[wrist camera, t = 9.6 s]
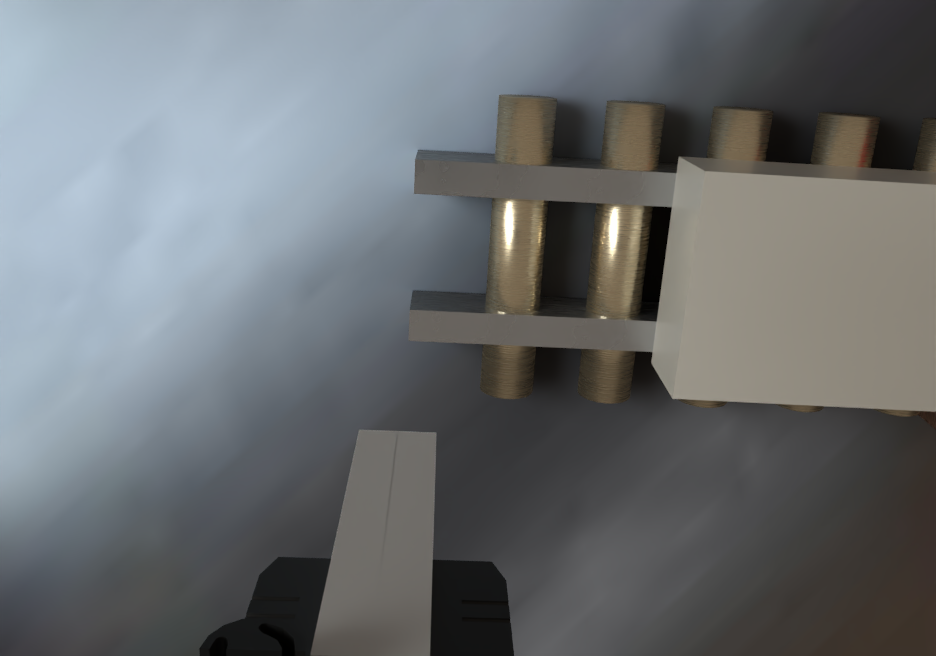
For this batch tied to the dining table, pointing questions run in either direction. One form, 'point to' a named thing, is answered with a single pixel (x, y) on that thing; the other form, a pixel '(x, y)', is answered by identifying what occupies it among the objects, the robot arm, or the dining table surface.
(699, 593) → the dining table surface
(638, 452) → the dining table surface
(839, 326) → the paver
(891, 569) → the dining table surface
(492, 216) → the rack with metal cylinders
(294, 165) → the dining table surface
